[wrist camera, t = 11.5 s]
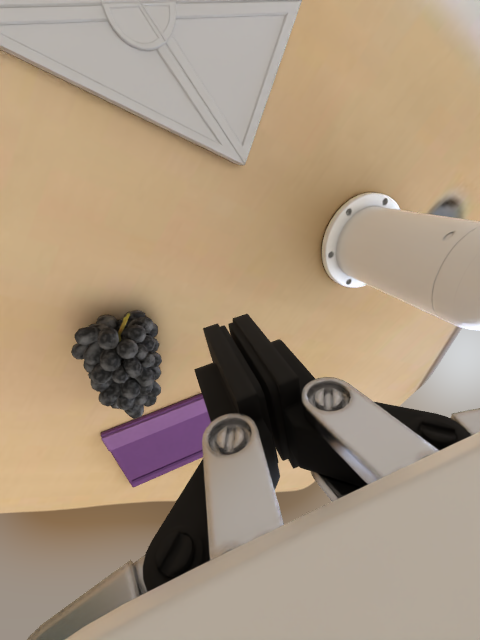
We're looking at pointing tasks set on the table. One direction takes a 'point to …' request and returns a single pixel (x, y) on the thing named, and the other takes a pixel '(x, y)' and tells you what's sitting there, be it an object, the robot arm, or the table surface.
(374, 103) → the table surface
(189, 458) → the towel
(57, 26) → the envelope
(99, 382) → the fruit
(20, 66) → the table surface
